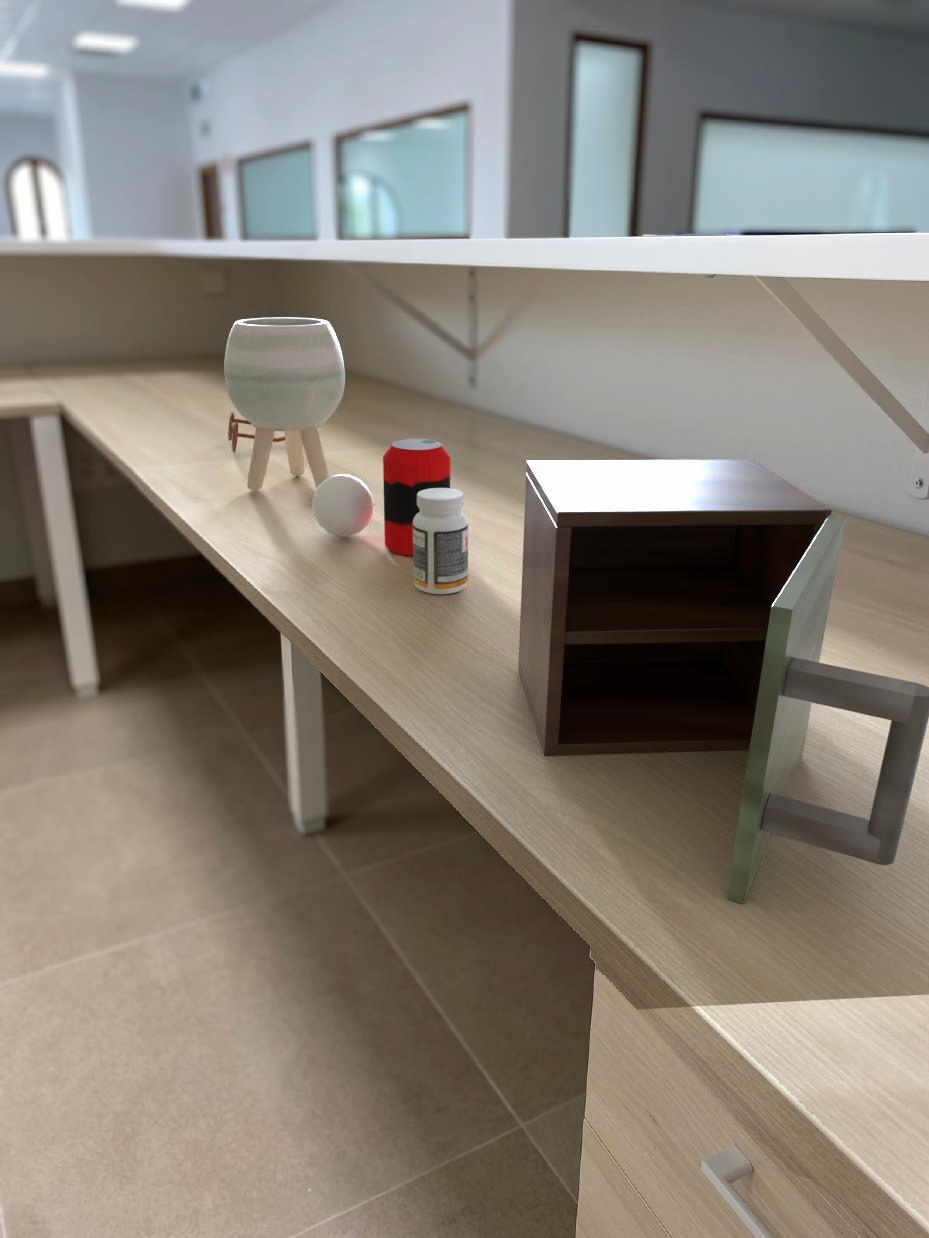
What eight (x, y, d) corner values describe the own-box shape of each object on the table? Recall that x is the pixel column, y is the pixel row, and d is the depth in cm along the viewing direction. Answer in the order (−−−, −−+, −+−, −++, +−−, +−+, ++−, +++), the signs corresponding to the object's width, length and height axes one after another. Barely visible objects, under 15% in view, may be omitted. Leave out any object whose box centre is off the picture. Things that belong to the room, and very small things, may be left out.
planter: (299, 466, 143) (291, 314, 134) (372, 484, 133) (367, 322, 125) (211, 485, 132) (195, 321, 123) (283, 507, 122) (271, 330, 113)
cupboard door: (905, 781, 63) (964, 533, 56) (875, 947, 49) (949, 639, 42) (787, 752, 66) (829, 514, 60) (726, 898, 52) (771, 605, 45)
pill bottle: (472, 578, 99) (473, 487, 95) (462, 598, 93) (463, 502, 89) (419, 575, 99) (419, 484, 96) (407, 594, 94) (406, 499, 90)
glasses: (227, 439, 160) (225, 410, 158) (303, 435, 163) (302, 407, 162) (233, 456, 148) (230, 425, 146) (315, 452, 152) (313, 421, 150)
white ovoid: (383, 540, 110) (381, 480, 107) (321, 547, 107) (318, 485, 105) (360, 517, 119) (358, 460, 116) (302, 523, 116) (299, 465, 113)
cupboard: (790, 750, 67) (832, 509, 60) (543, 757, 66) (557, 512, 59) (725, 665, 80) (753, 459, 73) (518, 670, 78) (526, 460, 71)
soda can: (463, 545, 109) (464, 444, 104) (419, 561, 103) (418, 455, 99) (415, 532, 113) (415, 434, 108) (371, 547, 108) (368, 444, 103)
